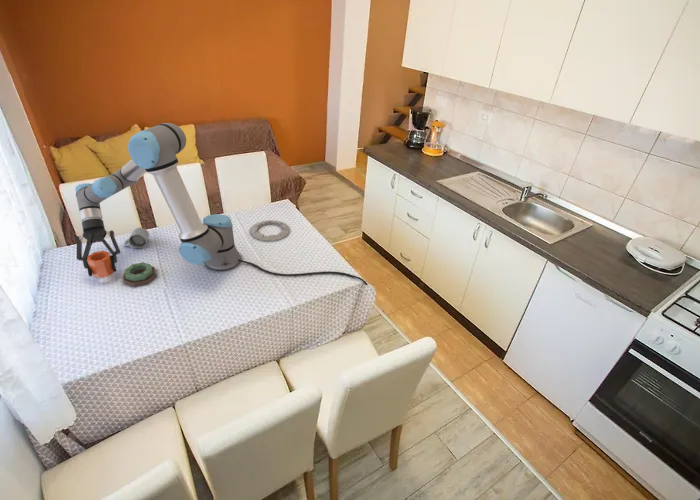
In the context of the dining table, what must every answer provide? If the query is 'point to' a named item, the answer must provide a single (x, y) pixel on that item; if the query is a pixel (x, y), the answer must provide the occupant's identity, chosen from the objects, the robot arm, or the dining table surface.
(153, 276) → the walnut ring
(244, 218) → the dining table surface
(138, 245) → the grey flanged cylinder
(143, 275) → the sage ring
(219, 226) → the robot arm
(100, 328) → the dining table surface
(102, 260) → the orange hollow faceted cylinder
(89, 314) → the dining table surface
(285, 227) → the ring
